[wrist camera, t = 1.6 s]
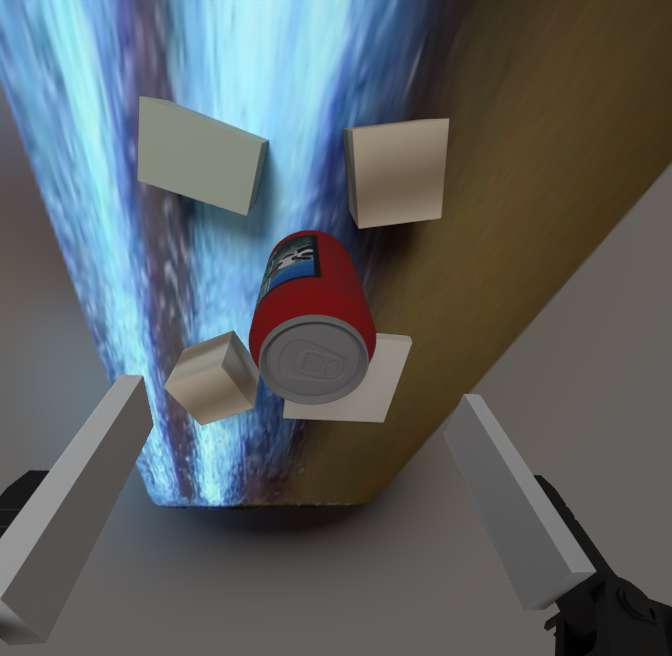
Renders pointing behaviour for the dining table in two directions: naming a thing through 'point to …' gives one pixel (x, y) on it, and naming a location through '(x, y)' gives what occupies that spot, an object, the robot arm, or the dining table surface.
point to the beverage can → (311, 321)
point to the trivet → (363, 387)
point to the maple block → (215, 379)
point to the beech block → (396, 171)
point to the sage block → (198, 156)
